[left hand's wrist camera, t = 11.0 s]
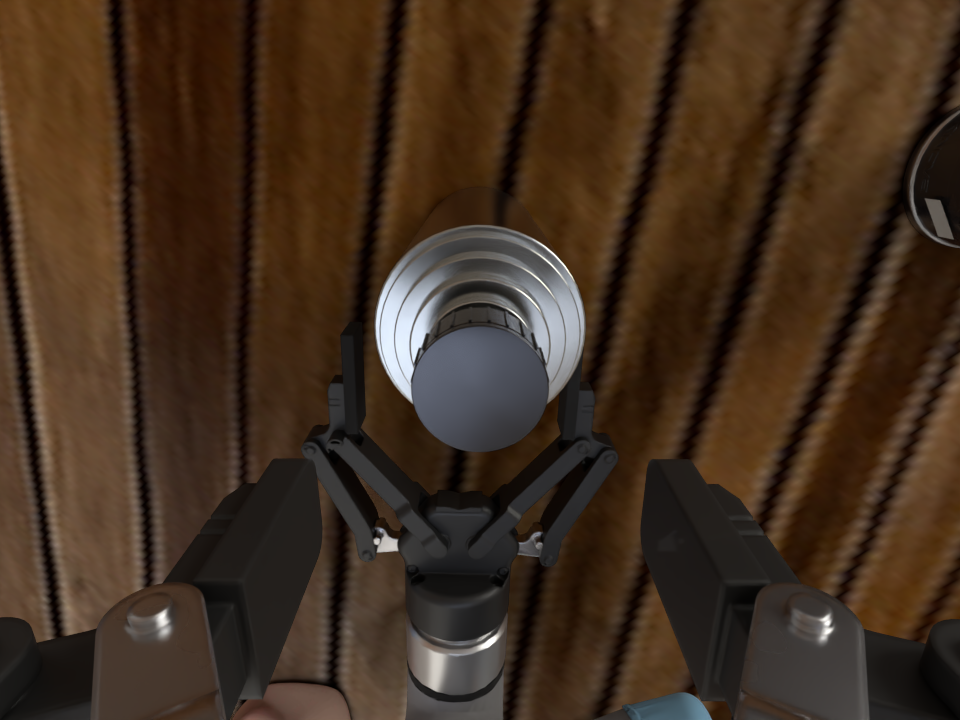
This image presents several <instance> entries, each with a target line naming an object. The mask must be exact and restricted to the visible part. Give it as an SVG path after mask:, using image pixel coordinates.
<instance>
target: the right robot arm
mask: <svg viewBox="0 0 960 720" xmlns="http://www.w3.org/2000/svg"><path fill="white" fill-rule="evenodd" d="M340 336H341V354H342V372H343V375H335V376H334V378H333V380H332V381H331V383H330V385H329V388H328V404H329V422H330V424H328V425H325V426H323V425H316V426H314V427H313V428H312V430H311V431H310V433H309V435H308V437H307V438H306V440H305V442H304V444H303V445H302V447H301V451H302V454H303V455H304V457H305V459H312V460H313V461H314V463H315V467H316V473H317V477H318V479H319V480H320V482H321V483H322V485H323V487H324V488H325V490H326V491H327V493H328V494H329V496H330V497H331V499H332V501H333V502H334V504H335V505H336V507H337V508H338V510H339V511H340V513H341V515H342V516H343V518H344V519H345V521H346V522H347V524H348V525H349V527H350V529H351V530H352V532H353V533H354V535H355V539H356V545H357V550H358V555H359V558H360V559H361V560H363V561H365V562H370V561H372V560H374V559H375V557H376V554H377V552H390V551H399V553H400V554H401V556H402V557H403V559H404V562H405V585H406V609H407V613H406V637H407V665H408V684H407V710H406V719H405V720H503V675H504V662H505V656H506V639H507V620H508V614H507V611H508V603H509V587H510V570H511V564H512V561H513V560H514V558H515V557H516V556H517V554H519V555H528V556H536V557H539V558H540V562H541V564H542V565H543V566H546V567H550V566H553V565H554V564H556V562H557V559H558V555H559V550H560V546H561V542H562V540H563V538H564V537H565V535H566V534H567V533H568V531H569V530H570V528H571V527H572V525H573V524H574V523H575V521H576V520H577V518H578V517H579V516H580V514H581V513H582V511H583V510H584V508H585V507H586V506H587V504H588V503H589V501H590V500H591V499H592V497H593V496H594V494H595V493H596V492H597V490H598V489H599V487H600V486H601V484H602V483H603V482H604V480H605V479H606V477H607V476H608V475H609V473H610V472H611V470H612V469H613V467H614V466H615V465H616V463H617V461H618V454H617V452H616V450H615V448H614V445H613V443H612V441H611V439H610V437H609V435H607V434H606V433H599V434H598V433H595V432H593V431H592V423H593V414H594V413H593V412H594V405H595V396H594V393H593V390H592V388H591V386H590V384H589V382H580V379H581V369H582V359H583V351H582V355H581V358H580V360H579V363H578V365H577V368H576V369H575V371H574V373H573V375H572V377H571V378H570V380H569V381H568V383H567V384H566V385H565V387H564V388H563V389H562V390H561V391H560V395H559V407H558V419H557V421H558V425H559V429H560V432H561V435H560V436H559V437H558V438H557V439H555V440H554V441H553V442H552V443H551V444H550V445H549V446H548V447H547V448H546V449H545V450H544V451H543V452H542V453H541V454H540V455H538V456H537V457H536V458H535V459H534V460H533V461H532V462H531V463H530V464H529V465H528V466H527V467H526V468H525V469H524V470H523V471H521V472H520V473H519V474H518V475H517V476H516V477H515V478H514V479H513V480H512V481H511V482H510V483H509V484H504V485H502V486H501V487H500V488H499V489H498V490H497V491H496V492H495V493H494V494H493V495H492V496H491V497H487V496H485V495H482V491H469V492H464V493H457V492H453V491H449V490H438V493H437V494H434V495H431V496H430V495H429V494H428V493H427V492H426V490H425V489H424V488H423V487H422V486H421V485H420V484H419V483H418V482H413V481H411V480H410V479H409V477H408V476H407V475H406V474H405V473H404V472H403V471H402V470H401V469H400V468H399V467H398V466H397V465H396V464H395V463H394V462H393V461H392V460H391V459H390V458H389V457H388V456H387V455H386V454H385V453H384V452H383V451H382V450H381V449H380V447H379V446H378V445H377V444H376V443H375V442H374V441H373V440H372V439H371V438H370V437H369V436H368V435H367V434H366V433H365V432H364V431H363V430H362V429H361V426H362V423H363V421H364V418H365V416H366V409H365V384H364V360H363V335H362V322H350V323H349V324H348V325H347V327H346V328H345V330H344V331H343V332H342V334H341V335H340ZM583 348H584V347H583ZM353 470H354V471H355V472H356V473H357V474H358V475H359V476H360V477H361V478H362V479H363V480H364V481H365V482H366V483H367V484H368V485H369V486H370V487H371V488H372V489H373V490H374V491H375V492H376V493H377V494H378V495H379V496H380V497H381V498H382V499H383V500H384V501H385V502H386V503H387V504H388V505H389V506H390V507H391V508H392V509H393V510H394V511H395V512H396V516H397V518H398V520H399V521H400V522H401V523H402V524H403V526H402V528H401V529H400V531H394V530H392V529H391V528H390V527H389V525H388V523H387V522H386V519H385V518H383V517H381V518H379V516H378V512H377V510H376V507H375V505H374V504H373V502H372V500H371V499H370V497H369V495H368V494H367V492H366V490H365V489H364V487H363V486H362V484H361V482H360V481H359V479H358V477H357V476H356V474H355V473H354V471H353ZM570 471H571V472H570ZM569 472H570V473H569ZM568 473H569V475H568V476H567V478H566V479H565V481H564V482H563V484H562V485H561V487H560V488H559V490H558V491H557V493H556V494H555V495H554V497H553V498H552V500H551V501H550V503H549V504H548V506H547V507H546V509H545V511H544V512H543V515H542V517H541V520H540V523H539V522H534V523H533V525H532V526H531V527H530V529H529V531H528V532H527V533H525V534H523V535H518V533H517V531H516V529H515V528H514V527H515V526H516V525H517V524H518V523H519V521H520V520H521V517H522V515H523V514H524V513H525V512H526V511H527V510H528V509H529V508H530V507H531V506H533V505H534V504H535V503H536V502H537V501H538V500H539V499H540V498H541V497H542V496H544V495H545V494H546V493H547V492H548V491H549V490H550V489H551V488H552V487H553V486H554V485H556V484H557V483H558V482H559V481H560V480H561V479H562V478H563V477H564V476H565V475H567V474H568ZM622 707H623V709H621V710H618V711H616V712H613V713H610V714H608V715H605V716H602V717H599V718H597V719H594V720H712V719H711V717H710V715H709V713H708V711H707V710H706V708H705V707H704V705H703V704H702V703H701V701H700V700H698V699H697V698H696V697H694V696H693V695H691V694H688V693H681V692H679V693H674V694H670V695H666V696H662V697H659V698H655V699H651V700H647V701H643V702H639V703H635V704H631V705H630V704H626V705H623V706H622Z"/></svg>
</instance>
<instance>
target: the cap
mask: <svg viewBox="0 0 960 720" xmlns="http://www.w3.org/2000/svg"><path fill="white" fill-rule="evenodd" d="M545 365H547V364H546V361H545V358H544V354H543V351H542V348H541V347H539V346H538V343H537V341H536V338H535V334H534V333H533V332H532V333H531V332H530V330H529V329H528V328H527V327H526V326H525V325H524V324H523V321H522V320H520V321H519V320H518V319H516V318H515V317H513V316H511V315H510V314H508V312H507V311H505V312H503V311H499V310H496V309H491V308H490V307H487V308H472V307H469V309H464V310H460V311H458V312H455V311H453V312H452V314H451V315H449V316H447V317H445V318H444V319H442V320H441V321H439V320H438V321H437V323H436V325H435V326H434V327H433V328H432V329H431V330H430V332H429V333H426V334H425V337H424V341H423V343H422V346H421V348H420V347H419V348H418V351H417V354H416V358H415V361H414V364H413V366H415V367H414V371H413V374H412V377H411V382H410V383H411V395H412V401H413V405H414V408H415V411H416V413H417V415H418V417H419V419H420V420H421V422H422V423H423V425H424V426H425V427H426V428H427V430H428V431H429V432H430V433H432V434H433V435H434V436H435V437H436V438H438V439H439V440H441V441H442V442H444V443H446V444H448V445H450V446H452V447H455V448H457V449H461V450H465V451H472V452H488V451H495V450H499V449H502V448H505V447H508V446H510V445H512V444H514V443H516V442H518V441H519V440H521V439H523V438H524V437H525V436H526V435H527V434H529V433H530V432H531V431H532V429H533V428H534V427H535V426H536V425H537V423H538V422H539V421H540V419H541V417H542V415H543V413H544V411H545V408H546V405H547V401H548V395H549V382H550V381H549V377H548V373H547V370H546V367H545Z"/></svg>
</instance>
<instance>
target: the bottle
mask: <svg viewBox="0 0 960 720" xmlns="http://www.w3.org/2000/svg"><path fill="white" fill-rule="evenodd" d="M469 307H472V308H487V307H490V308H491V309H496V310H499V311H503V312H505V311H507V312H508V314H510V315H511V316H513V317H515V318H516V319H518V320H519V321H520V320H522V321H523V324H524V325H525V326H526V327H527V328H528V329H529V330H530V332H531V333H532V332H533V333H534V334H535V338H536V341H537V343H538V346H539V347H541V348H542V351H543V354H544V358H545V361H546V364H547V365H545V367H546V370H547V373H548V377H549V381H550V382H549V395H548V401H547V404H548V403H549V402H550V401H551V400H552V399H554V398H555V397H556V396H557V395H558V394H559V392H560V391H561V390H562V389H563V388H564V387H565V385H566V384H567V383H568V381H569V380H570V378H571V377H572V375H573V373H574V371H575V369H576V368H577V365H578V363H579V360H580V358H581V355H582V351H583V347H584V343H585V334H586V315H585V309H584V304H583V300H582V297H581V294H580V291H579V288H578V286H577V284H576V282H575V280H574V278H573V276H572V274H571V273H570V272H569V270H568V269H567V267H566V266H565V264H564V263H563V261H562V260H561V258H560V257H559V256H558V254H557V253H556V251H555V250H554V248H553V247H552V246H551V244H550V243H549V241H548V240H547V238H546V237H545V236H544V234H543V233H542V231H541V230H540V228H539V227H538V226H537V224H536V223H535V221H534V220H533V218H532V217H531V215H530V214H529V213H528V211H527V210H526V209H525V207H524V206H523V205H522V204H521V203H520V202H519V201H518V200H516V199H515V198H514V197H512V196H511V195H509V194H507V193H505V192H503V191H501V190H497V189H494V188H489V187H471V188H466V189H462V190H460V191H457V192H455V193H453V194H451V195H449V196H448V197H446V198H445V199H444V200H442V201H441V202H440V203H439V204H438V205H437V206H436V207H435V209H434V210H433V211H432V213H431V214H430V215H429V217H428V218H427V220H426V221H425V223H424V224H423V225H422V227H421V228H420V230H419V231H418V233H417V234H416V235H415V237H414V238H413V240H412V241H411V243H410V244H409V245H408V247H407V248H406V250H405V251H404V253H403V254H402V255H401V257H400V258H399V260H398V261H397V263H396V264H395V265H394V267H393V268H392V270H391V271H390V273H389V275H388V276H387V278H386V280H385V282H384V283H383V286H382V289H381V291H380V294H379V296H378V300H377V304H376V308H375V317H374V336H375V342H376V347H377V351H378V354H379V358H380V361H381V363H382V365H383V367H384V369H385V371H386V373H387V375H388V377H389V378H390V380H391V381H392V383H393V384H394V385H395V387H396V388H397V389H398V390H399V391H400V393H401V394H402V395H403V396H404V397H405V398H407V399H408V400H409V401H410V402H411V403H412V404H413V401H412V395H411V383H410V382H411V377H412V374H413V371H414V367H415V366H413V364H414V361H415V358H416V354H417V351H418V348H419V347H420V348H421V346H422V343H423V341H424V337H425V334H426V333H429V332H430V330H431V329H432V328H433V327H434V326H435V325H436V323H437V321H438V320H439V321H441V320H442V319H444V318H445V317H447V316H449V315H451V314H452V312H453V311H455V312H458V311H460V310H464V309H469Z"/></svg>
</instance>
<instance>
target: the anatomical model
mask: <svg viewBox="0 0 960 720" xmlns="http://www.w3.org/2000/svg"><path fill="white" fill-rule="evenodd" d="M232 720H351V719H350V714H349V710H348V706H347V704H346V701H345V699H344V697H343V696H342V694H341V693H340V692H339V691H337V690H336V689H334V688H331V687H328V686H323V685H317V684H306V683H275V684H270V685H268V687H267V690H266V692H265V695H264V697H263V699H248V700H247V701H246V702H245V703H244V704H243V705H242V706H241V707H240V709H239V710H238V711H237V712H236V714H235V715H234V717H233V719H232Z"/></svg>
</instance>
